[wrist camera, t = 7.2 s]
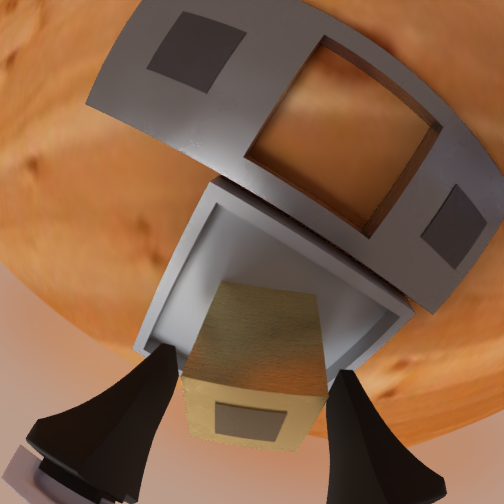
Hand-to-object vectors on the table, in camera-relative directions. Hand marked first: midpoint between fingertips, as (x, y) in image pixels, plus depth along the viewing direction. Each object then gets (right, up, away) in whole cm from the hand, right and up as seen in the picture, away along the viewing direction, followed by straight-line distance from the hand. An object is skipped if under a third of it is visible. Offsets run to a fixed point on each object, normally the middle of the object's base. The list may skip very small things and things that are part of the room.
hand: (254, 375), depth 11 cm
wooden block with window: (0, +2, +3) cm, 3 cm away
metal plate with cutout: (+3, +11, -1) cm, 11 cm away
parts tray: (0, +2, +3) cm, 4 cm away
